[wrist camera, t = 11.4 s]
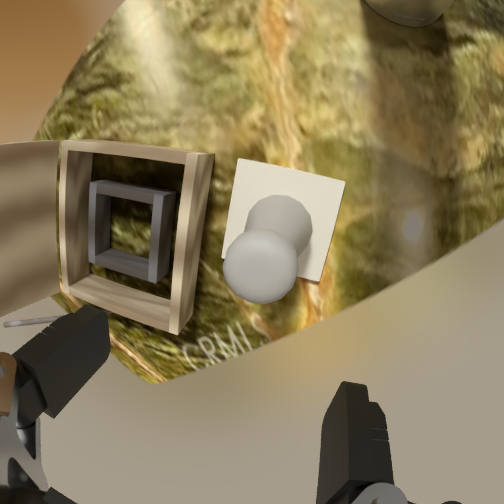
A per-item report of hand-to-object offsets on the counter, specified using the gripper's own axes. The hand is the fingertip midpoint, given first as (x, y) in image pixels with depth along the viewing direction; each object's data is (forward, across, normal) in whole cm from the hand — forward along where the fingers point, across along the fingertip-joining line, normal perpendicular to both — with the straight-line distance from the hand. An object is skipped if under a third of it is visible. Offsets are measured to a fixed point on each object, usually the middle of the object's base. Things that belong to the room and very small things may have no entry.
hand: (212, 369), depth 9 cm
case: (+21, +17, +5) cm, 28 cm away
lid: (+8, +26, +4) cm, 28 cm away
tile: (+22, 0, 0) cm, 22 cm away
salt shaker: (+21, 0, 0) cm, 21 cm away
